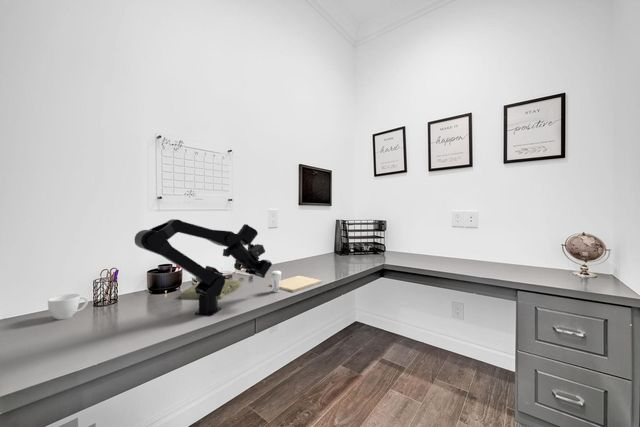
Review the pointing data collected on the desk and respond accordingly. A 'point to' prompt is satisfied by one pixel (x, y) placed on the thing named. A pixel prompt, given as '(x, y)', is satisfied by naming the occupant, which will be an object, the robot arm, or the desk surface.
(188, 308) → the desk surface
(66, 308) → the cup
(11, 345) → the desk surface
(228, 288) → the olive green cushion
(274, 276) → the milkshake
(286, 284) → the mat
